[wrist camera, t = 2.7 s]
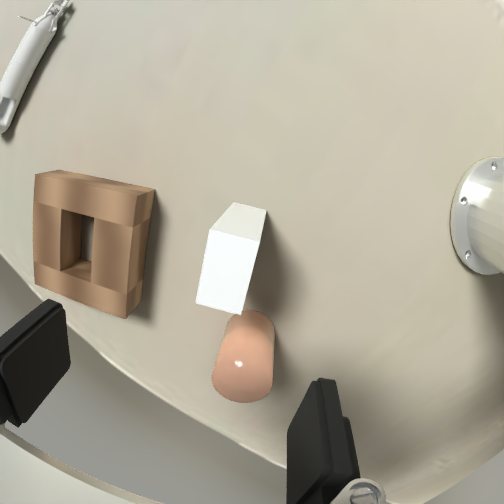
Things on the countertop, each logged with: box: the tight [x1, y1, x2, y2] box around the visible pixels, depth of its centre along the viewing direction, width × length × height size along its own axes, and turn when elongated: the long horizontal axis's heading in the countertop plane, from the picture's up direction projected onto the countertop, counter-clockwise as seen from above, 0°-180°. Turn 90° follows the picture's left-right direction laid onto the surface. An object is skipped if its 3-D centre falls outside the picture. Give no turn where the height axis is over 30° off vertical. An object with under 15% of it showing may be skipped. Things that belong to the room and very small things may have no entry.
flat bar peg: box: [196, 202, 267, 315], centre depth 24 cm, size 3×5×10 cm, turn 167°
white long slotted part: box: [0, 0, 69, 134], centre depth 21 cm, size 18×5×7 cm, turn 145°
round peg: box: [212, 310, 275, 403], centre depth 28 cm, size 5×5×8 cm
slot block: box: [33, 170, 155, 319], centre depth 28 cm, size 12×12×4 cm
